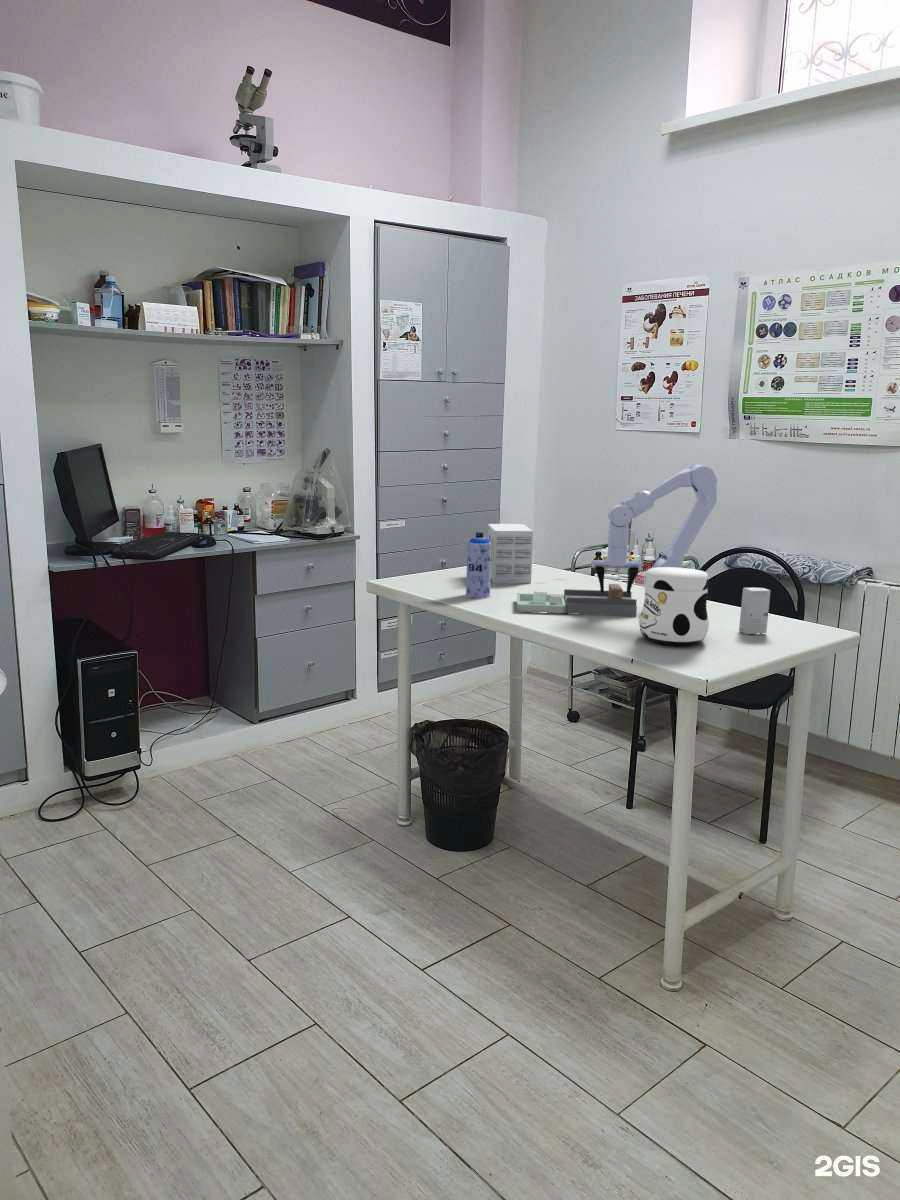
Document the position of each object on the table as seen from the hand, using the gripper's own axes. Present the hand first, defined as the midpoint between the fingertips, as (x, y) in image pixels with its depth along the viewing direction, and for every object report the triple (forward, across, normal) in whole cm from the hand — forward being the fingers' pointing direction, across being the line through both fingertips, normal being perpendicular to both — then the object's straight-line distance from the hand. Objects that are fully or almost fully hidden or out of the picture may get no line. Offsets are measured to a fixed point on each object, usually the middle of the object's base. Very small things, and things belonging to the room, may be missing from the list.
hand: (615, 592), depth 268 cm
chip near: (+3, +18, +4) cm, 18 cm away
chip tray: (+5, +22, 0) cm, 22 cm away
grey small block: (+3, +22, -4) cm, 22 cm away
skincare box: (+6, -34, +23) cm, 42 cm away
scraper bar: (+2, 0, 0) cm, 2 cm away
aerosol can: (+6, +41, -14) cm, 43 cm away
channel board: (+5, +4, 0) cm, 7 cm away
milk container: (+6, -11, +34) cm, 37 cm away
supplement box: (+6, +31, -44) cm, 54 cm away
